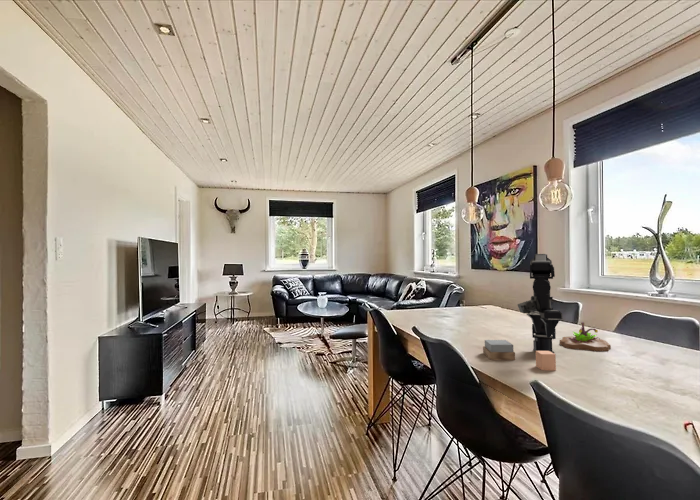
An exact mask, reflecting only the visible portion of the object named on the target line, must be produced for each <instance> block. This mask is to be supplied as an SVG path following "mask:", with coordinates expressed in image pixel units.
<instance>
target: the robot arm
mask: <svg viewBox="0 0 700 500" xmlns="http://www.w3.org/2000/svg"><path fill="white" fill-rule="evenodd" d="M533 256H534V257H533V258H532V259H530V264H529V279H534V280H533V281H532V292H533V295H531V297H530V300H526V301H523V302H520V303H518V304H517V308H518V310H519V312H520V313H522V314H526V316H528V317H529V319H531V321H532V325H531V326H532V327H531V332H532V336H531V337H532V338H533V339H534V340H533V348H532V350H533V351H534V352H536V351H550V352H552V353H554V354H555V352H554V351H553V340H556V337H557V336H556V334H557V333H556V327H557V326H558V324H559V322H561V320H562V319H563V313H562V311H559V310H556V309H554V307H552V305H551V304H552V303H551V301H552V300H554V298H553V296H551V289H552V287H551V282H550V280H553V279H554V278H555V276H556V275H555V266H554V264H553V262H552V259H550V258H549V257H548V254H546V253H536V254H534V255H533Z"/></svg>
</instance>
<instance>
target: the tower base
mask: <svg viewBox="0 0 700 500" xmlns="http://www.w3.org/2000/svg"><path fill="white" fill-rule="evenodd" d="M482 354H483V355H484V356H486V357H487V359H488V360H492V361H501V360H502V361H510V360H511V361H516V352H515V351H514V350H513V352H490V351H489V350H488V349H487V348H486V347H485V345H484V346H482Z"/></svg>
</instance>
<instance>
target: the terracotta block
mask: <svg viewBox="0 0 700 500" xmlns="http://www.w3.org/2000/svg"><path fill="white" fill-rule="evenodd" d="M556 356H557V355H556V354H555V352H554V353H552V352H550V351H535V367H536V368H538V369H540V370H541V371H556V370H557V365H556V364H557V361H556Z"/></svg>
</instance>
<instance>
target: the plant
mask: <svg viewBox="0 0 700 500" xmlns="http://www.w3.org/2000/svg"><path fill="white" fill-rule="evenodd" d="M580 323H581V324H580V325H581V327H580V329H579V330H578V332H576V331H572V334H573V336H572V335H571V336H563V337H562V339H559V345H560V346H561V345H562V346H561V347H564V348H567V349H572V350H582V351H583V350H585V351H592V352H609V351H610V350H611V348H612V347H611V344H610V343H608V341H607V340H604V339H601V338H600V337H598V336H597V334H594V335H593V334H592V333H591V332H590V331H592V330H593V331H594V333H598V329H597V328H588V329H587V330H586V329H585V322H584V321H581V322H580Z"/></svg>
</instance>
